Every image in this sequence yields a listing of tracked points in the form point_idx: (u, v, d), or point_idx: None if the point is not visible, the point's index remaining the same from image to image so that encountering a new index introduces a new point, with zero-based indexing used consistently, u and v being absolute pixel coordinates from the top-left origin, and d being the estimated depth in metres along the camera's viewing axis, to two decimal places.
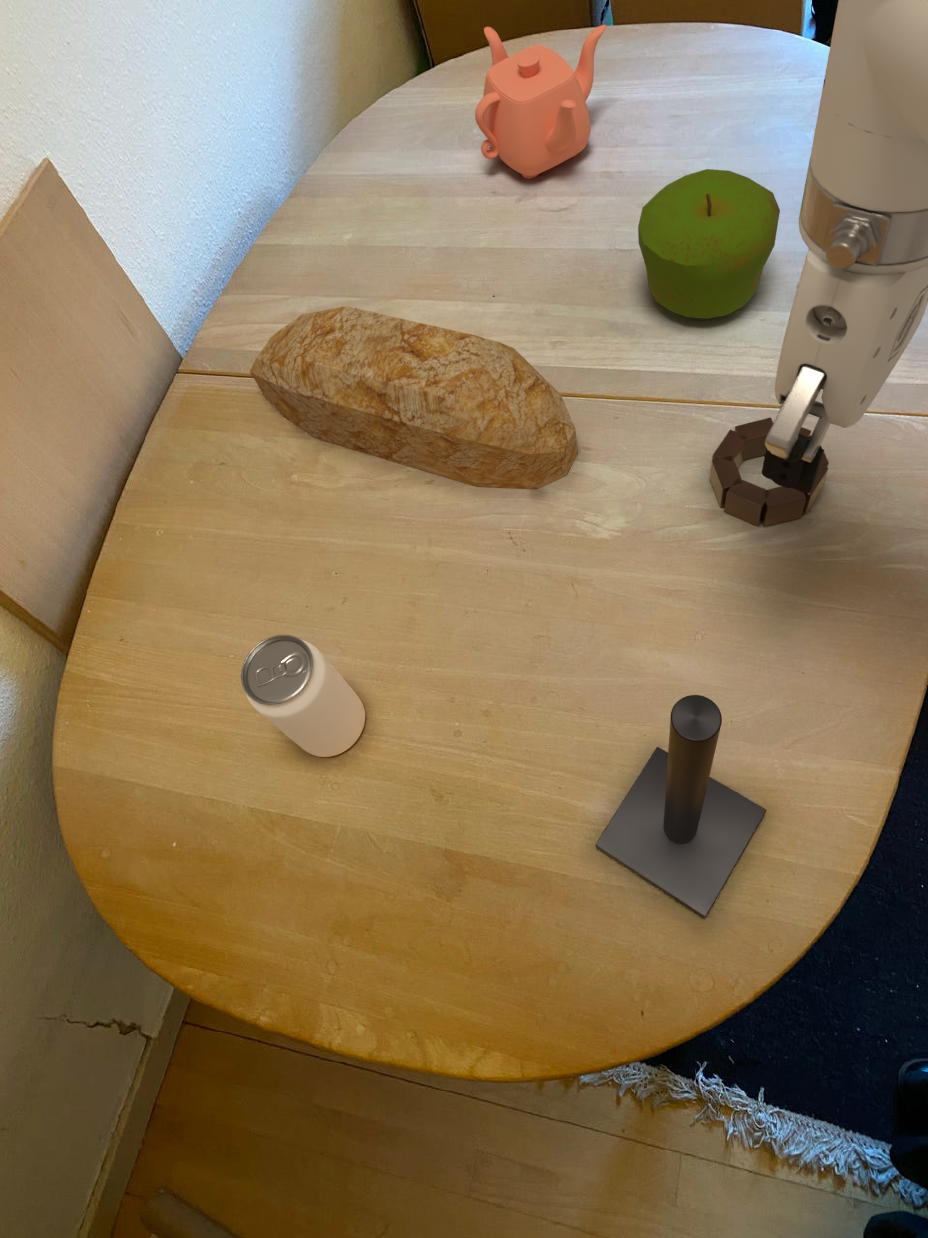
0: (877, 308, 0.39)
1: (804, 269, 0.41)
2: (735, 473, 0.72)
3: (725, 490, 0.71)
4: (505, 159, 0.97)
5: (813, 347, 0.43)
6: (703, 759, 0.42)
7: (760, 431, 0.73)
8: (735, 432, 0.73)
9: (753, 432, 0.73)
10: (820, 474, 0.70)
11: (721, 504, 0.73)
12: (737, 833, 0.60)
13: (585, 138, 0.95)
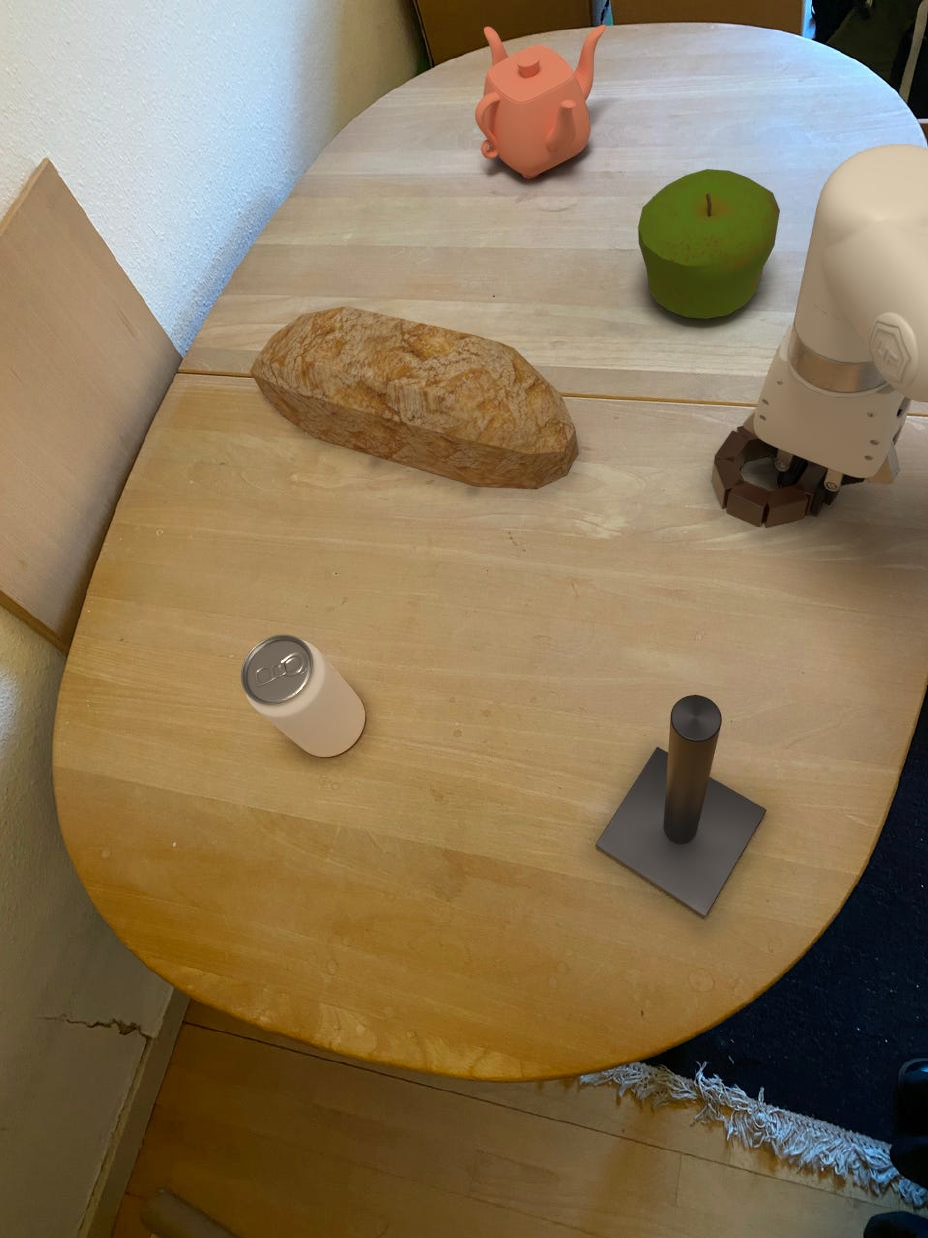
0: None
1: (887, 399, 0.56)
2: (737, 474, 0.71)
3: (727, 491, 0.71)
4: (505, 159, 0.97)
5: (899, 422, 0.59)
6: (703, 759, 0.42)
7: None
8: (737, 433, 0.73)
9: None
10: (822, 475, 0.70)
11: (723, 505, 0.73)
12: (737, 833, 0.60)
13: (585, 138, 0.95)
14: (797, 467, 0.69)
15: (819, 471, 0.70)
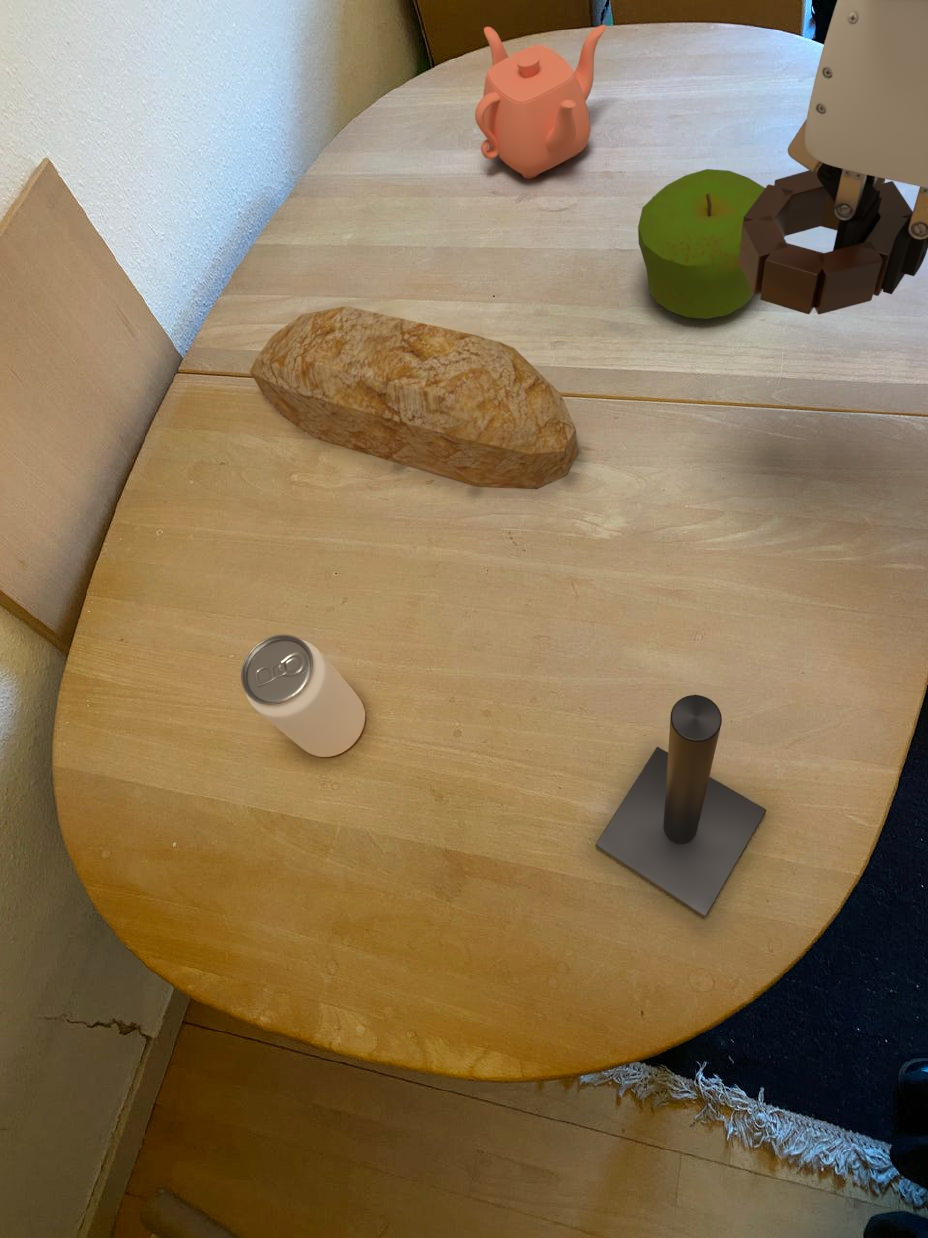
0: None
1: None
2: (777, 236, 0.50)
3: (763, 259, 0.50)
4: (505, 159, 0.97)
5: None
6: (703, 759, 0.42)
7: (811, 183, 0.51)
8: (775, 187, 0.52)
9: (801, 185, 0.51)
10: None
11: (756, 288, 0.51)
12: (737, 833, 0.60)
13: (585, 138, 0.95)
14: (866, 214, 0.48)
15: (897, 224, 0.48)
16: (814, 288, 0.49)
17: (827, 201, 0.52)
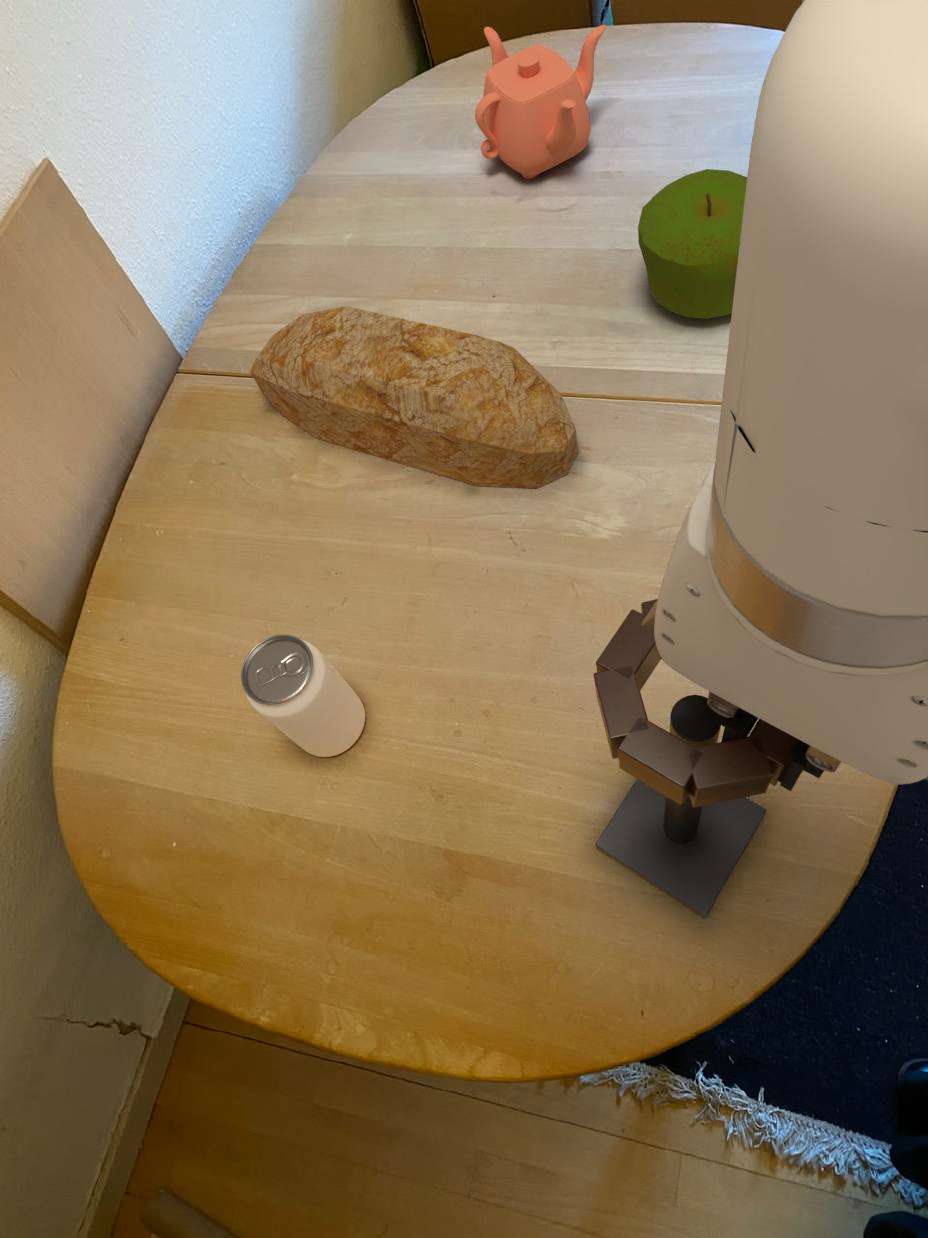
0: None
1: None
2: (636, 706, 0.36)
3: (616, 740, 0.36)
4: (505, 159, 0.97)
5: None
6: None
7: None
8: (641, 616, 0.38)
9: None
10: None
11: (614, 756, 0.38)
12: (737, 833, 0.60)
13: (585, 138, 0.95)
14: None
15: None
16: (683, 793, 0.35)
17: None
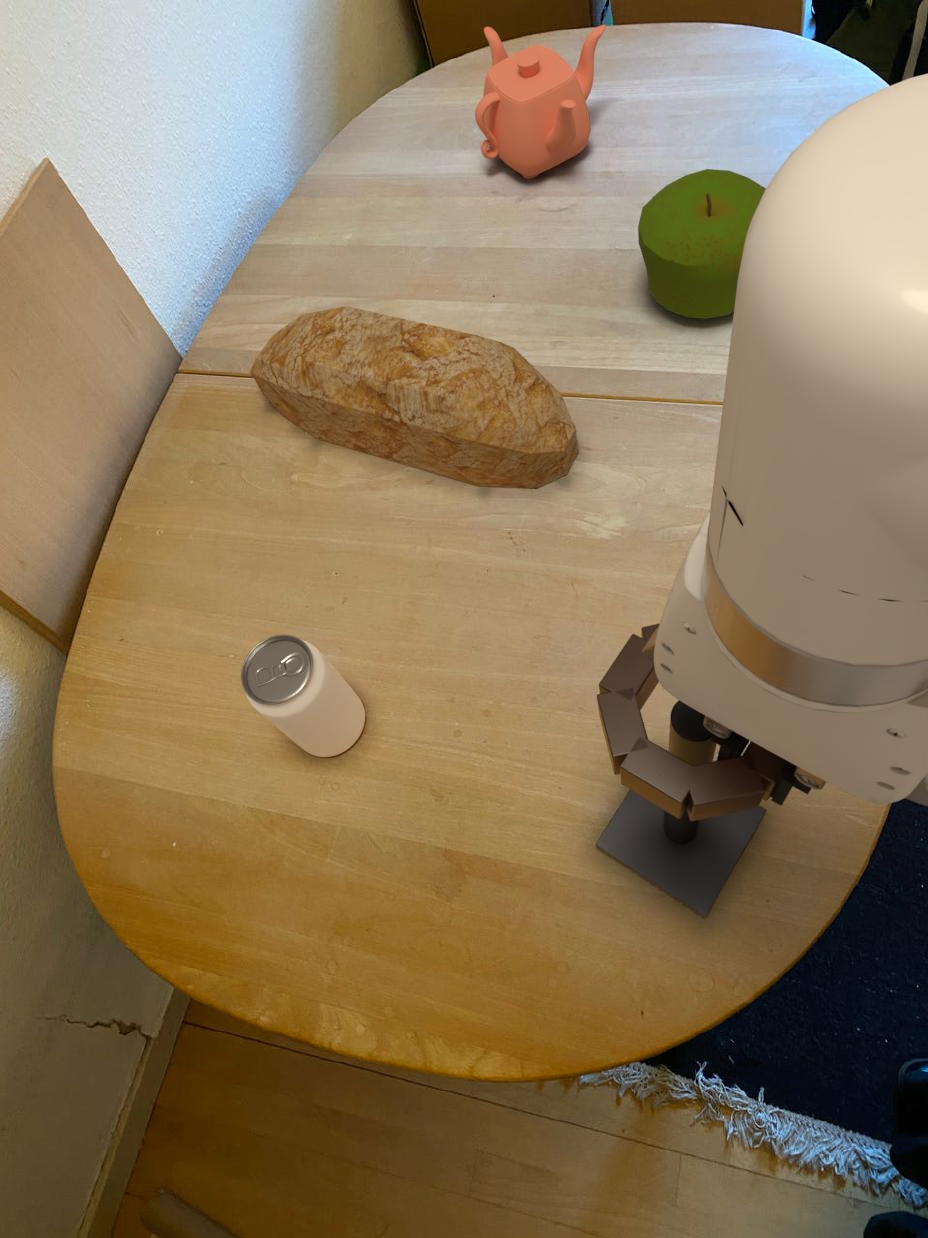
0: None
1: None
2: (637, 726, 0.39)
3: (618, 758, 0.38)
4: (505, 159, 0.97)
5: None
6: (703, 759, 0.42)
7: None
8: (641, 640, 0.40)
9: None
10: None
11: (615, 772, 0.40)
12: (737, 833, 0.60)
13: (585, 138, 0.95)
14: None
15: None
16: (681, 808, 0.38)
17: None
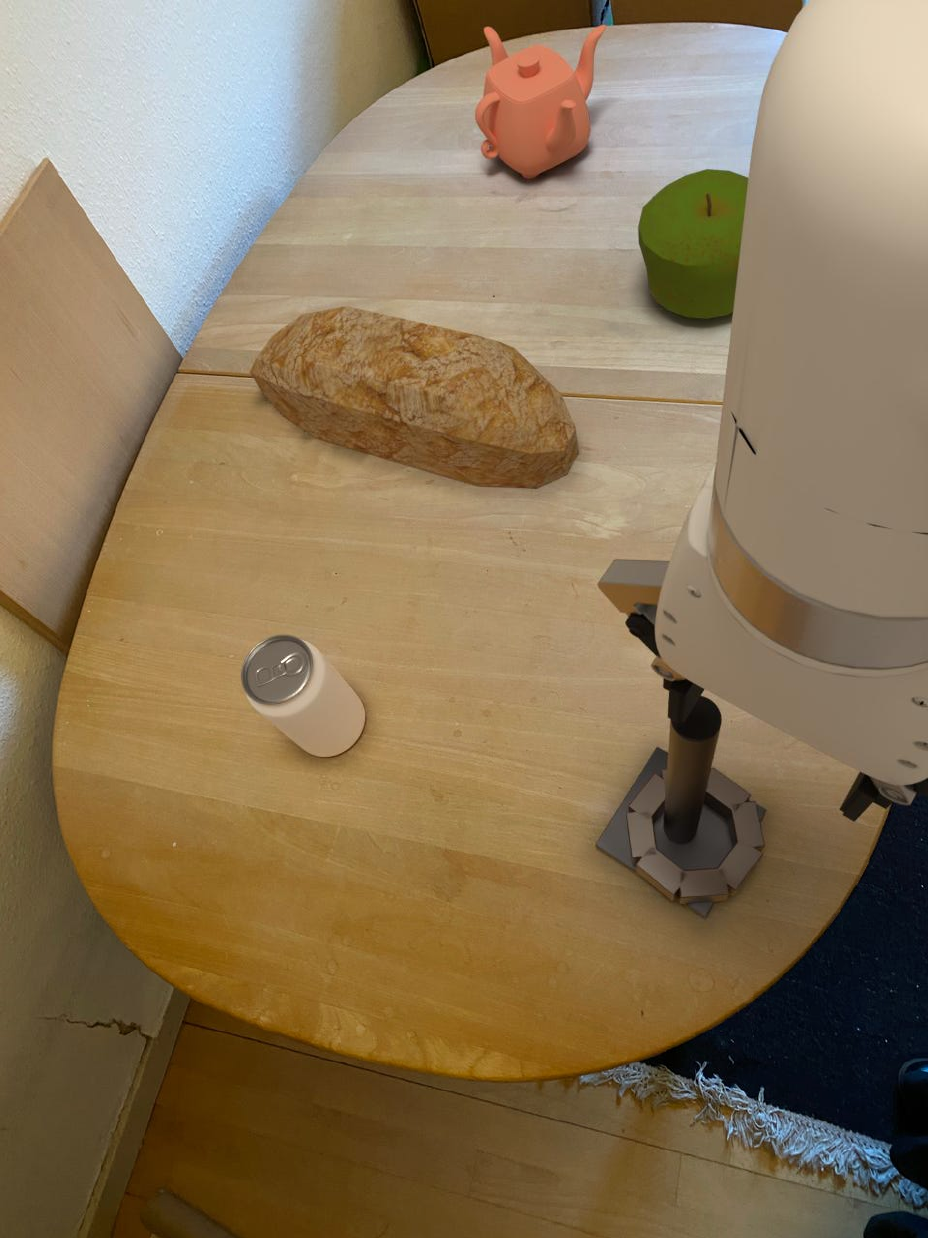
0: None
1: None
2: (650, 838, 0.58)
3: (635, 858, 0.58)
4: (505, 159, 0.97)
5: None
6: (703, 759, 0.42)
7: None
8: (660, 778, 0.60)
9: None
10: (751, 862, 0.56)
11: (633, 864, 0.60)
12: None
13: (585, 138, 0.95)
14: None
15: (748, 855, 0.57)
16: (673, 897, 0.57)
17: None
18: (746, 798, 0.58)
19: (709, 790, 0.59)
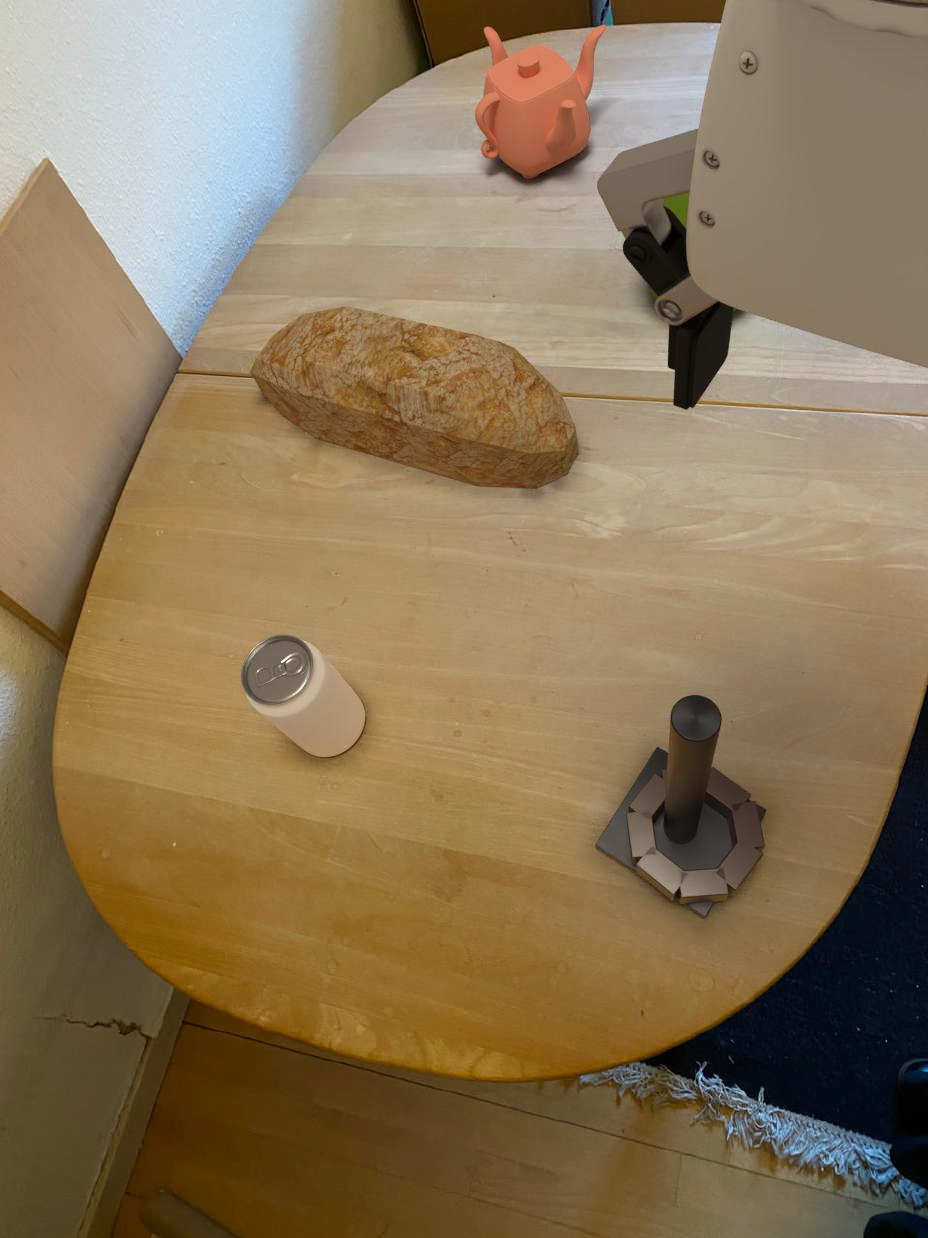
0: None
1: None
2: (650, 838, 0.58)
3: (635, 858, 0.58)
4: (505, 159, 0.97)
5: None
6: (703, 759, 0.42)
7: None
8: (660, 778, 0.60)
9: None
10: (751, 862, 0.56)
11: (633, 864, 0.60)
12: None
13: (585, 138, 0.95)
14: (709, 315, 0.29)
15: (748, 855, 0.57)
16: (673, 897, 0.57)
17: None
18: (746, 798, 0.58)
19: (709, 790, 0.59)
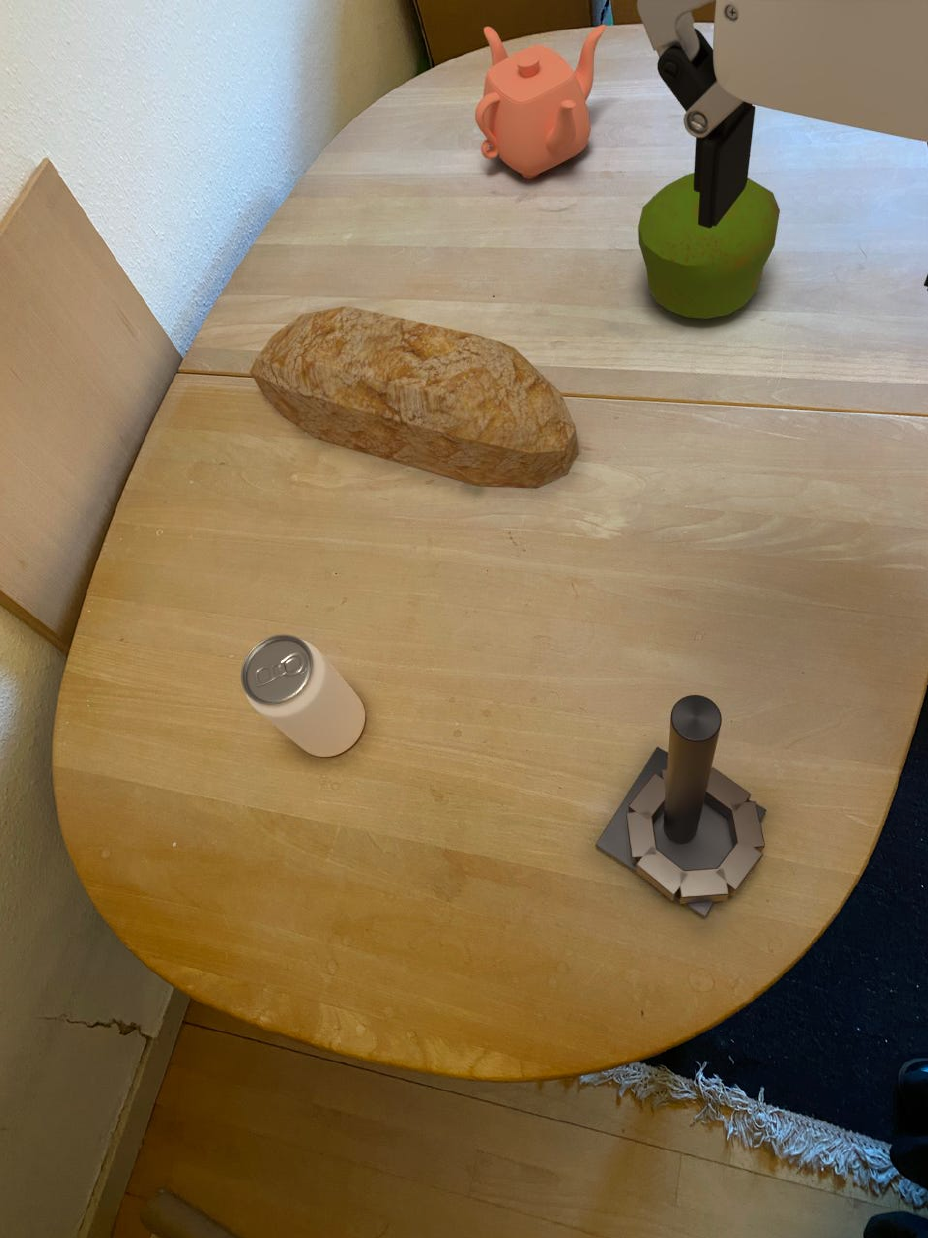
0: None
1: None
2: (650, 838, 0.58)
3: (635, 858, 0.58)
4: (505, 159, 0.97)
5: None
6: (703, 759, 0.42)
7: None
8: (660, 778, 0.60)
9: None
10: (751, 862, 0.56)
11: (633, 864, 0.60)
12: None
13: (585, 138, 0.95)
14: (731, 130, 0.33)
15: (748, 855, 0.57)
16: (673, 897, 0.57)
17: None
18: (746, 798, 0.58)
19: (709, 790, 0.59)
